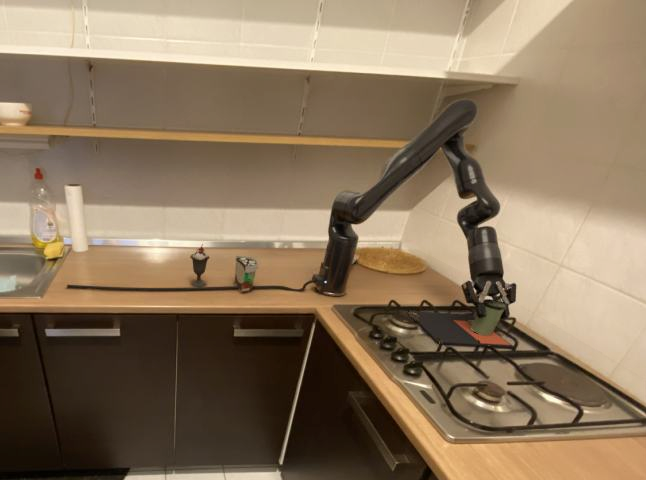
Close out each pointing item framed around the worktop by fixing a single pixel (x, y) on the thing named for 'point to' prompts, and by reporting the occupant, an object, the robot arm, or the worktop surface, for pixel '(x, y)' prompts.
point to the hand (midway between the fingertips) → (493, 317)
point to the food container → (245, 273)
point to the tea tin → (489, 317)
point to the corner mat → (457, 330)
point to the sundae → (199, 265)
